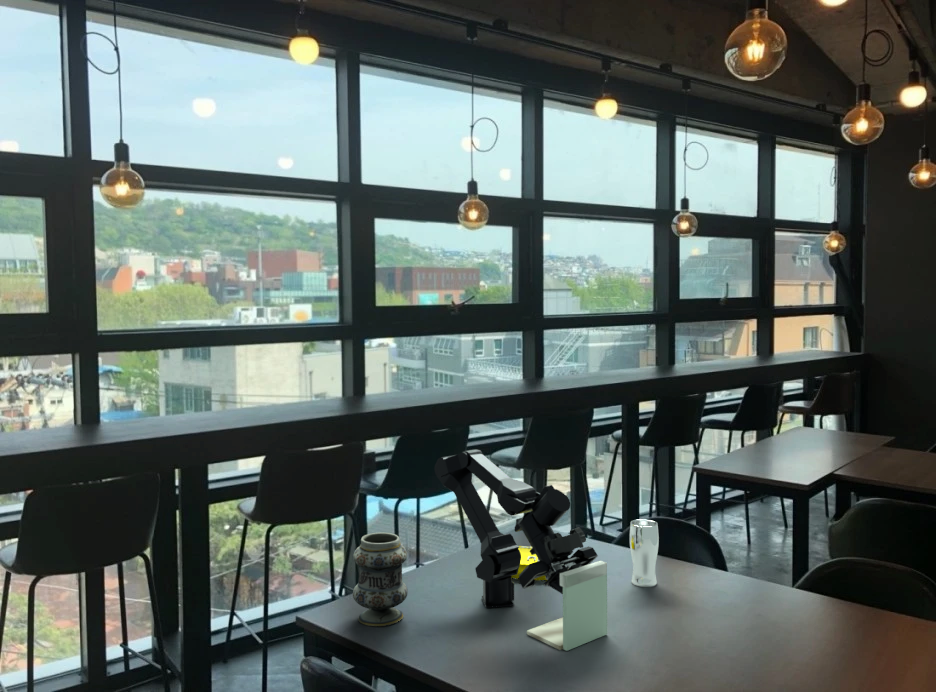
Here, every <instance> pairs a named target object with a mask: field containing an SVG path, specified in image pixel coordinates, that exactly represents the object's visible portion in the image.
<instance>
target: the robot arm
mask: <svg viewBox="0 0 936 692" xmlns="http://www.w3.org/2000/svg"><path fill="white" fill-rule="evenodd" d="M433 469H434V473H435V476H436V477H437V479H438V480H439V482H440V483H441V484H442V486H443V487H445V488H446V489H448V490H449V491H451V492H452V493H454V495H455V496H456V499H457V500H458V503H459V504H460V506H461V508H462V510H463V512H464V514H465V516H466V517H467V519H468V520H469V522H470V525H471V526H472V528H473V531H474V532H475V534H476V536H477V538H478V539H479V542H480V557H481V561H480V562H479V563H478V565H477V566H476V567H475V573H476V574H475V575H476V578H477V579H480V580H482V592H483V593H482V595H481V600H482V602H483V604H484V608H487V609H492V608H505V607H506V608H507V607H514V605H515V604H514V602H513V601H515V582H514V581H513V579H512V577H511V576H512V575H517V573H518V569H519V566H520V562H521V553H520V551H519V546H520V545H519V544H517V542H516V541H515V539H514V536H513V535H512V534H511V533H506V534H504V533H503V532H501V531H500V530H499V529H498V526H497V525H496V523H495V521H494V520H493V517H492V516H491V514H490V512H489V511H488V508H487V507H486V506H485V504H484V502H483V500H482V498H481V495H480V494H479V492H478V491H477V489H476V487H475V485H474V484H473V476H475V477H476V478H478V479H479V480H480V481H481V482H482V483H483V484H484V485H485V486H486V487H488V488H489V489H490V490H491V491H492V492H493V493H494V494H495V495H496V497H497V502H498V504H499V505H500V507H501V508H502V509H503V511H505V513H506V514H507V515H509V516H517V515H521V514H524V515H523V516H522V517H519V518H516V519H515V525H514V531H515V533H516V532H517V533H518V532H521V531H522V532H523V534H524V537H526V539H527V541H528V543H529V546H531V547H532V549H531V550H530V553H531V555H534V554H536V555H537V557H538V559H539V561H537V562H534V563H531V564H529V565H528V566H527V567H526V568H525V569H524V570H523V571H522V572H521V573H520V574H519V579H518V582H519V584H520V586H521V587H522V589H527V588H530V587H533V586H534V585H535V581H536V580H534V579H535V578H538V577H541V576H544V575H545V576H546V579H547V581H544V583H543V585H544V586H548V587H550V588H552V589H554V591H557V592H559V593H560V594H561V595H563V587H562V586H560V573H563V572H566V571H569V570H573V569H576V568H579V567H582V566H585V565H588V564H591V563H593V561H595V560H596V559H597V558H598V557H599V555H598V554H597V552H596V550H595V549H594V547H593V546H590V545H589V546H585V547H584V544H583V543H586V542H587V541H586V540H587V538H586V534H585V532H584V531H583V530H582V528H581V527H576V528H573V529H570V530H569V534H567V535H563V536H562V533H560V532H555V531H554V530H553V528H552V527H553V526H555V525H556V524H557V523H558V522H559V520H561V519H562V517H564V516H565V514H566V513H567V512H568V511H569V510H570V509H571V500H570V499H569V497H568V495H566V494H565V493H564V492H562V491H561V490H559V489H555V488H554V486H553V484H550V485H545V486H544V487H543V488H542V490H541V492H538V491H536V489H535V488H534V487H533V486H531V485H529V484H528V483H526V482H524V481H521V480H519V479H515V478H512V477H510V476H509V475H508V474H506V473H505V472H504V471H503V470H502V469H500V468H499V467H498V466H497V465H495V464H494V463H493V462H492V461H491V460H490V459H489V458H487V457H486V456H485V455H484V453H483V452H482V450H480V449H469V450H464V451H462V452H461V453H458V454H454V455H448V456H442V457H438V459H437V460H436V463H435V464H434V468H433ZM575 549H577V550H576V551H575V552H574V550H575ZM569 556H570V557H569Z"/></svg>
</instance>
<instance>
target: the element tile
mask: <svg viewBox="0 0 936 692" xmlns="http://www.w3.org/2000/svg"><path fill="white" fill-rule="evenodd" d="M518 546H519V551H520V553H521V562H520V566H519V569H518V573H517V575H512V576H511V577H512V578H516V579H515V580H519V579H518V578H519V574H520V573H521V572H522V571H523V570H524V569H525V568H526V567H527V566H528V565H529V564H531V563H534V562H537V561H539V559H538V557H537V555H536V554H534V555H531V553H530V550H531V549H532V547H531V545H529V546H528V545H527V546H524V545H518ZM534 580H535V581H540V580H547V579H546V576H545V575H544V576H541V577H538V578H535V579H534Z"/></svg>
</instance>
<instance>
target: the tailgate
mask: <svg viewBox="0 0 936 692" xmlns="http://www.w3.org/2000/svg"><path fill="white" fill-rule="evenodd" d="M560 586H562V587H563V594H562V617H563V649H562V650H564V651H569V650H572V649H574V648H577V647H579V646H582V645H585V644H586V643H589V642H591V641H594V640H597V639H600V638H601V637H604V636H606V635H608V562H606V561H603V560H599V561H595V562H591V563H590V564H588V565H585V566H582V567H579V568H576V569H573V570H569V571H566V572H563V573H560Z"/></svg>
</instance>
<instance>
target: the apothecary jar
mask: <svg viewBox="0 0 936 692" xmlns="http://www.w3.org/2000/svg"><path fill="white" fill-rule="evenodd" d="M352 557H353V561H354V563H355V564H356V565H357V566H358V583H357V584H356V585H355V586H354V588H353V591H352V597H353V600H354V601H355V603H356V604H358V605H359V606H360V607H362V608H365V609H366V610H364V611H362V612H361V613H360V614H359V615H358V621H359V622H360V624H362V625H364V626H369V627H377V626H378V627H387V626H386V625H388V626H392V625H395V624H398V623H399V622H400V620H401V619H402V620H403V618H404V614H403V612H402V610H399V609H397V608H396V607H398V606H399V605H401V604H402V603H403V602H405V600H406V599H407V597H408V592H409V591H408V587H407V585H406V583H404V581H403V563H405V562H406V560H407V557H408V551H407V549H406V547H405V546H403V544H401V540H400V536H398V534H395V533H391V532H373V533H372V532H371V533H368V534H364V535H363V536H362V537H361V539H360V544H359V546H358V547H357V548H356V549H355V550H354V553H353V556H352ZM402 620H401V621H402ZM398 621H399V622H398ZM394 623H395V624H394ZM391 624H392V625H391Z"/></svg>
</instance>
